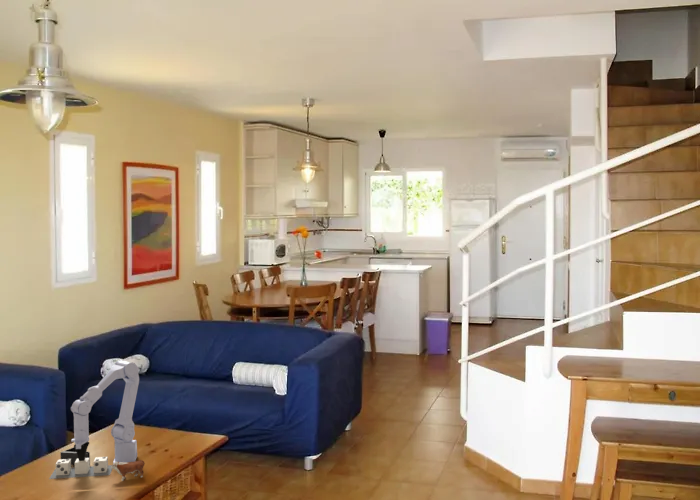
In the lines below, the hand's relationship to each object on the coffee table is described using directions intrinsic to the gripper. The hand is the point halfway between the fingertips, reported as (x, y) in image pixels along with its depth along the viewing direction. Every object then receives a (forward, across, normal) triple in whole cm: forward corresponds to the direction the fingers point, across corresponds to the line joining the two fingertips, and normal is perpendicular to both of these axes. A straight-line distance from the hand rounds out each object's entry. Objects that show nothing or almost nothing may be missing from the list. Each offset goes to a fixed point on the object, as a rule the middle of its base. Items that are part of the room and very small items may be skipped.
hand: (82, 460), depth 305 cm
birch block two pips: (+5, 0, +8) cm, 9 cm away
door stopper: (+2, -15, -9) cm, 17 cm away
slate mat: (+6, 0, 0) cm, 6 cm away
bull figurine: (+6, +11, +20) cm, 23 cm away
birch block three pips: (+5, 0, -8) cm, 9 cm away
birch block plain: (+5, 0, 0) cm, 5 cm away
